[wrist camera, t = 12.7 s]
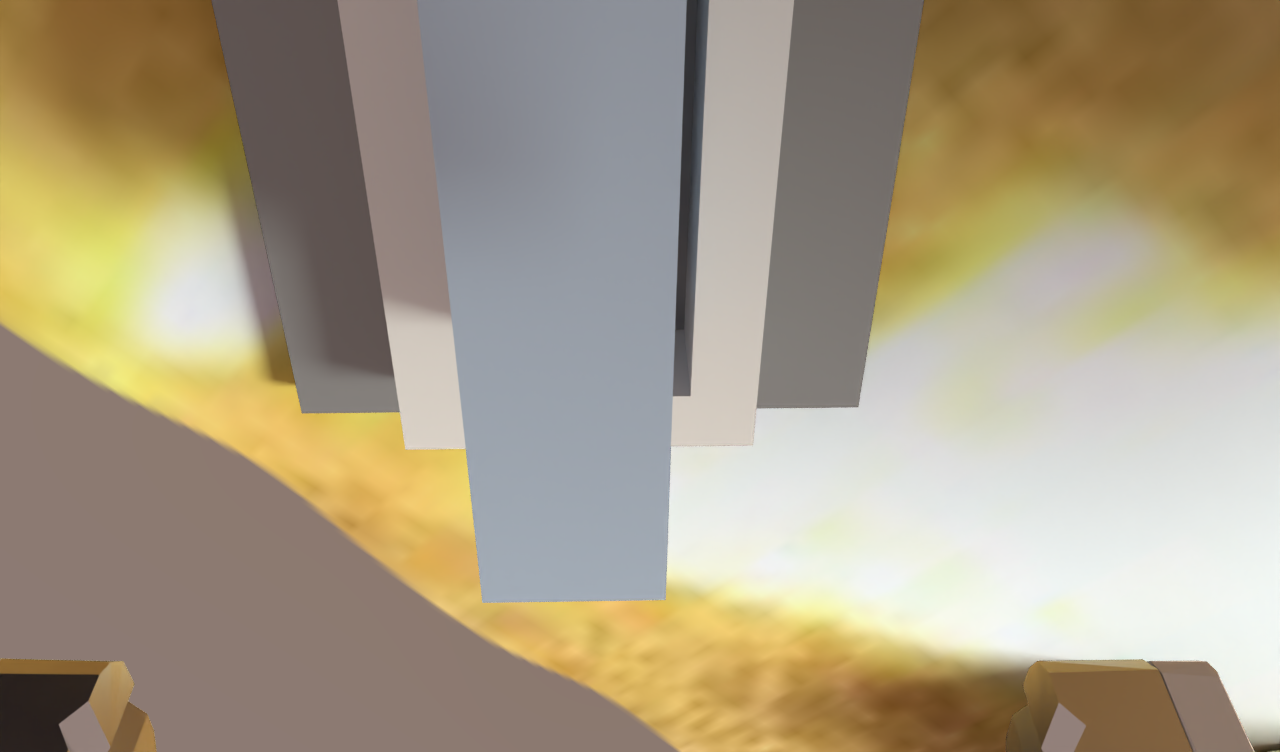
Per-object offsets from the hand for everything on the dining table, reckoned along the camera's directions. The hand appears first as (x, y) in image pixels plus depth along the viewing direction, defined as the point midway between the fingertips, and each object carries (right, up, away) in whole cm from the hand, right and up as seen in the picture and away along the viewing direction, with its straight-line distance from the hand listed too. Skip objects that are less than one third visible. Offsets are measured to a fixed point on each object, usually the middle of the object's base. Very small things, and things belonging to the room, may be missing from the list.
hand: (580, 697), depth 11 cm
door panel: (-1, +10, +13) cm, 16 cm away
